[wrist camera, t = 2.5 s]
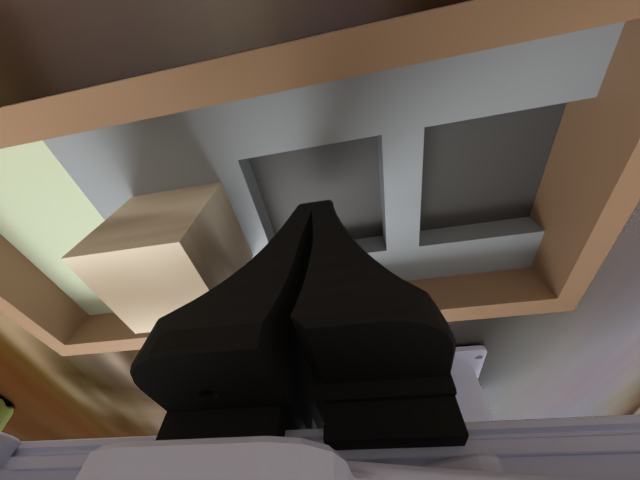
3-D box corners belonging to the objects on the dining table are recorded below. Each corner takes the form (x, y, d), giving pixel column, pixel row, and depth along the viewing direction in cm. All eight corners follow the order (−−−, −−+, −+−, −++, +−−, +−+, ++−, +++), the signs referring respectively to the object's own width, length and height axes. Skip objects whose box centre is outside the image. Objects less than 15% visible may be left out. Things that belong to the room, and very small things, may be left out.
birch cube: (253, 255, 14) (230, 324, 10) (178, 264, 14) (135, 333, 11) (221, 181, 11) (178, 242, 8) (132, 196, 12) (60, 258, 8)
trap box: (529, 259, 15) (574, 310, 13) (101, 307, 19) (62, 356, 16) (640, -39, 8) (801, -74, 5) (-85, 126, 12) (-215, 156, 9)
